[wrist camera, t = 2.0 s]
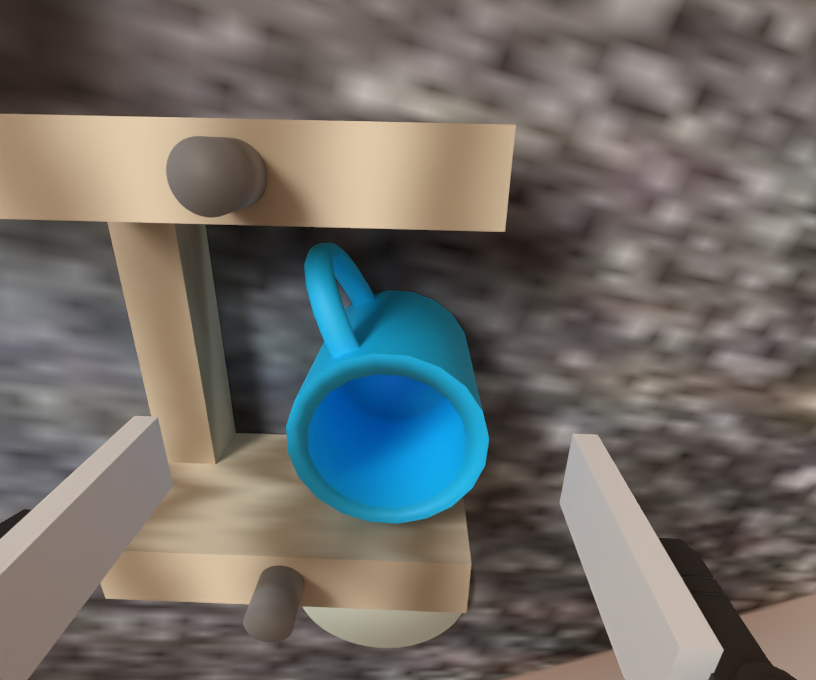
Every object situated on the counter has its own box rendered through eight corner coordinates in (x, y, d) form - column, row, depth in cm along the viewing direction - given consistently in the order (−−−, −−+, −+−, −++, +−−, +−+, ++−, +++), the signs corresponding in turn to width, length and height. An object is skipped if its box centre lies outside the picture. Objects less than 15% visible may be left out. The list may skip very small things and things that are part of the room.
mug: (490, 393, 27) (517, 489, 19) (363, 438, 28) (342, 545, 21) (406, 195, 23) (398, 219, 15) (263, 260, 24) (191, 312, 17)
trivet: (304, 633, 35) (301, 644, 34) (292, 511, 30) (288, 520, 30) (461, 640, 35) (462, 651, 34) (474, 517, 30) (475, 527, 30)
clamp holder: (195, 471, 29) (75, 641, 19) (127, 125, 22) (-131, 107, 12) (453, 480, 29) (470, 658, 19) (479, 133, 21) (530, 121, 11)
